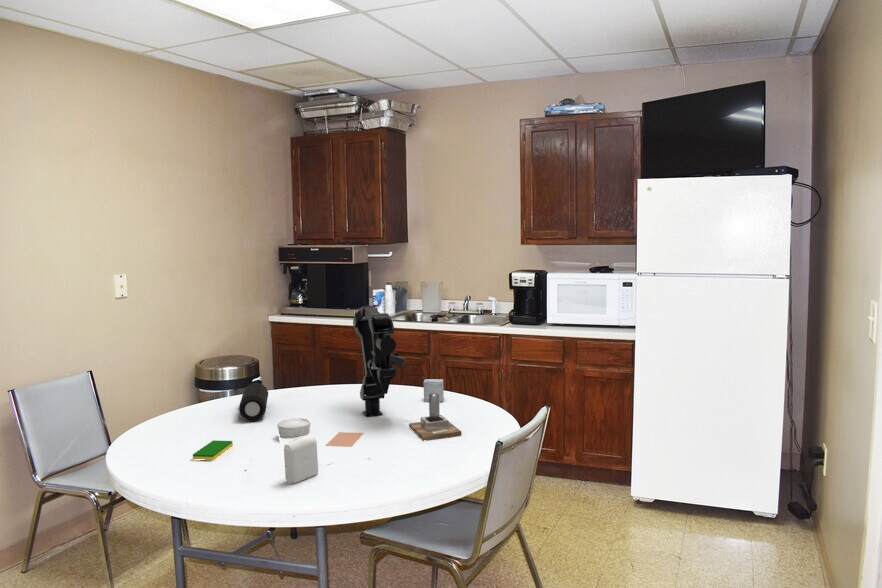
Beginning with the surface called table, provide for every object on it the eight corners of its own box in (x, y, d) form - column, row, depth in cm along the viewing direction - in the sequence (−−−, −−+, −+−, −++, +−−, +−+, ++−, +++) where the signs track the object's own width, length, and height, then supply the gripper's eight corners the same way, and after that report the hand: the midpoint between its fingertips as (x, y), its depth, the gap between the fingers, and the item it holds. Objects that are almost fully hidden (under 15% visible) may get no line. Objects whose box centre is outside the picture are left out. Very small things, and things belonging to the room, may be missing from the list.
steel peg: (428, 428, 233) (428, 395, 231) (430, 425, 236) (430, 392, 235) (438, 429, 232) (438, 395, 230) (440, 425, 235) (440, 393, 234)
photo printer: (292, 485, 189) (290, 443, 187) (283, 481, 191) (281, 440, 190) (320, 474, 197) (318, 434, 195) (311, 471, 199) (309, 431, 198)
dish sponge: (192, 461, 211) (191, 454, 210) (213, 447, 224) (213, 440, 224) (213, 462, 210) (213, 455, 209) (233, 447, 223) (232, 440, 223)
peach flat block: (339, 436, 231) (339, 432, 231) (364, 437, 229) (364, 433, 229) (325, 450, 217) (325, 445, 217) (351, 451, 216) (351, 446, 216)
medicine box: (443, 399, 276) (443, 379, 275) (442, 402, 272) (442, 381, 271) (425, 399, 277) (424, 379, 276) (423, 402, 272) (423, 381, 271)
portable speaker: (266, 422, 250) (265, 396, 249) (239, 424, 248) (237, 398, 247) (269, 404, 275) (267, 380, 274) (244, 405, 273) (242, 382, 272)
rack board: (409, 427, 239) (408, 415, 239) (445, 422, 244) (445, 410, 244) (423, 440, 224) (422, 428, 224) (461, 435, 229) (461, 422, 229)
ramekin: (317, 436, 232) (316, 421, 231) (290, 444, 224) (289, 429, 223) (298, 430, 239) (298, 416, 239) (271, 437, 231) (271, 423, 231)
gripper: (409, 351, 233) (411, 394, 235) (395, 342, 251) (396, 382, 252) (379, 353, 229) (380, 397, 231) (366, 344, 247) (368, 385, 248)
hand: (382, 390), depth 241 cm, fingers open, 9 cm apart
